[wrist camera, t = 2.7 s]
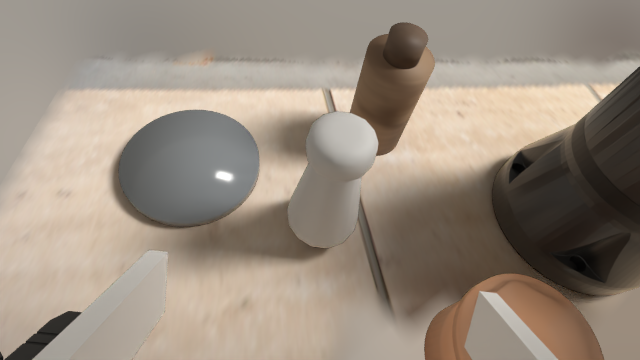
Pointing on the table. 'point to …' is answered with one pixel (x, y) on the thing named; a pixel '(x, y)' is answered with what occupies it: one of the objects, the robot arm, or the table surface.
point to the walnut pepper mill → (392, 82)
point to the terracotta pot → (530, 306)
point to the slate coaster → (189, 168)
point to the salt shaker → (332, 179)
